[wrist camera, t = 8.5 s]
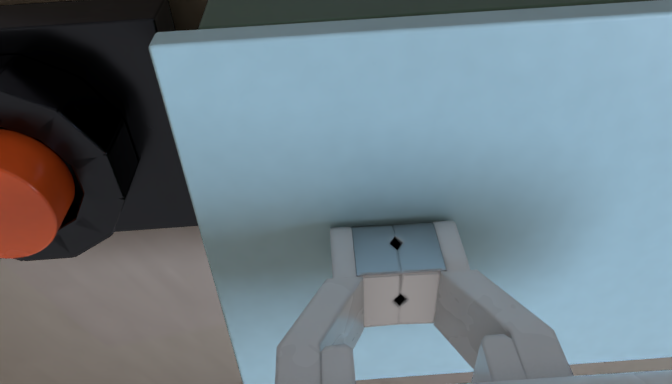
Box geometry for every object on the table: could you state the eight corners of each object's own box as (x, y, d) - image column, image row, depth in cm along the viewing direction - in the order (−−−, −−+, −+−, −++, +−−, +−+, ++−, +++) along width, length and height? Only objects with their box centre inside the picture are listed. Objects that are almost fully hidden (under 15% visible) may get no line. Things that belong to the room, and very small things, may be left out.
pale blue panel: (245, 369, 17) (243, 389, 17) (154, 30, 10) (146, 46, 10) (679, 338, 18) (691, 356, 17) (892, -17, 10) (926, -4, 10)
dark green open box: (276, 219, 23) (270, 368, 17) (231, -70, 16) (196, 27, 10) (586, 196, 23) (678, 336, 18) (682, -98, 16) (890, -18, 10)
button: (49, 122, 15) (26, 158, 14) (91, 216, 18) (74, 255, 16) (-78, 131, 15) (-115, 168, 14) (-19, 224, 18) (-46, 263, 16)
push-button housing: (167, -6, 17) (138, 48, 14) (215, 192, 22) (201, 264, 19) (-159, 14, 17) (-262, 74, 13) (-34, 209, 22) (-88, 285, 19)
